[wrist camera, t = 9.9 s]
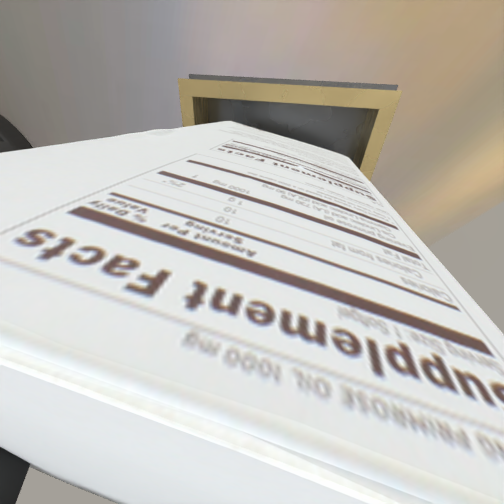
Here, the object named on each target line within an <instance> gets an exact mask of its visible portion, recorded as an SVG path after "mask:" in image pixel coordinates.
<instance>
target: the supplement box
mask: <svg viewBox="0 0 504 504" xmlns="http://www.w3.org/2000/svg"><path fill="white" fill-rule="evenodd" d="M0 447H2V448H3V449H5V450H7V451H9V452H10V453H12V454H14V455H16V456H18V457H19V458H21V459H23V460H25V461H27V462H28V463H30V466H29V467H31V468H33V469H36V470H38V471H40V472H42V473H45V474H47V475H49V476H52V477H54V478H56V479H59V480H61V481H63V482H66V483H68V484H70V485H73V486H75V487H78V488H80V489H83V490H85V491H88V492H91V493H93V494H95V495H98V496H100V497H103V498H105V499H108V500H110V501H113V502H115V503H118V504H504V334H503V333H502V332H501V331H500V330H499V329H498V327H497V326H496V325H495V324H494V323H493V322H492V321H491V319H490V318H489V317H488V316H487V315H486V314H485V313H484V312H483V310H482V309H481V308H480V307H479V306H478V305H477V303H476V302H475V301H474V300H473V299H472V298H471V297H470V295H469V294H468V293H467V292H466V291H465V290H464V289H463V288H462V286H461V285H460V284H459V283H458V282H457V281H456V280H455V278H454V277H453V276H452V275H451V274H450V273H449V272H448V270H447V269H446V268H445V267H444V266H443V265H442V264H441V262H440V261H439V260H438V259H437V258H436V257H435V256H434V255H433V253H432V252H431V251H430V250H429V249H428V248H427V247H426V245H425V244H424V243H423V242H422V241H421V240H420V239H419V238H418V236H417V235H416V234H415V233H414V232H413V231H412V230H411V228H410V227H409V226H408V225H407V224H406V222H405V221H404V220H403V219H402V218H401V217H400V215H399V214H398V213H397V212H396V211H395V210H394V209H393V207H392V206H391V205H390V204H389V203H388V202H387V201H386V199H385V198H384V197H383V196H382V195H381V194H380V193H379V192H378V190H377V189H376V188H375V187H374V186H373V185H372V183H371V182H370V181H369V180H368V179H367V178H366V177H365V176H364V175H363V173H362V172H361V171H360V170H359V169H358V168H357V167H356V165H355V164H354V163H353V162H352V161H351V160H350V158H349V157H347V156H344V155H342V154H339V153H336V152H333V151H330V150H327V149H323V148H320V147H317V146H314V145H310V144H307V143H304V142H300V141H297V140H294V139H290V138H287V137H283V136H280V135H276V134H273V133H270V132H266V131H263V130H259V129H256V128H253V127H249V126H246V125H243V124H239V123H236V122H233V121H223V122H216V123H208V124H201V125H194V126H187V127H181V128H176V129H155V130H150V131H146V132H139V133H130V134H124V135H119V136H114V137H107V138H100V139H93V140H86V141H79V142H72V143H66V144H59V145H52V146H45V147H38V148H31V149H24V150H17V151H10V152H3V153H0Z"/></svg>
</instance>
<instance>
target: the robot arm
mask: <svg viewBox="0 0 504 504" xmlns="http://www.w3.org/2000/svg"><path fill="white" fill-rule="evenodd" d="M31 148H32V147H31V146H30V144H29V143H28V142H27V140H26V139H25V138H24V137H23V136H22V134H21V133H20V132H19V131H18V130H17V129H16V128H15V127H14V126H13V125H12V124H11V123H10V122H9V121H7V120H6V119H5V118H4V117H3V116H1V115H0V153H3V152H10V151H17V150H24V149H31ZM29 466H30V463H28V462H27V461H25V460H23V459H21V458H19V457H18V456H16V455H14V454H12V453H10V452H9V451H7V450H5V449H3V448H2V447H0V504H15V503H16V501H17V498H18V495H19V493H20V490H21V487H22V485H23V482H24V479H25V476H26V474H27V471H28V468H29Z"/></svg>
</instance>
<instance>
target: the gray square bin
mask: <svg viewBox="0 0 504 504" xmlns="http://www.w3.org/2000/svg"><path fill="white" fill-rule="evenodd" d="M178 85H179V94H180V104H181V113H182V122H183V127H187V126H194V125H201V124H208V123H216V122H223V121H233V122H236V123H239V124H243V125H246V126H249V127H253V128H256V129H259V130H263V131H266V132H270V133H273V134H276V135H280V136H283V137H287V138H290V139H294V140H297V141H300V142H304V143H307V144H310V145H314V146H317V147H320V148H323V149H327V150H330V151H333V152H336V153H339V154H342V155H344V156H347V157H349V158H350V160H351V161H352V162H353V163H354V164H355V165H356V167H357V168H358V169H359V170H360V171H361V172H362V173H363V175H364V176H365V177H366V178H367V179H368V180H369V181H370V180H371V177H372V174H373V171H374V169H375V166H376V163H377V160H378V158H379V155H380V152H381V149H382V146H383V144H384V141H385V138H386V135H387V133H388V130H389V127H390V124H391V122H392V119H393V116H394V113H395V110H396V108H397V105H398V102H399V99H400V97H401V94H402V91H396V90H397V87H398V85H387V84H368V83H349V82H330V81H311V80H291V79H272V78H253V77H234V76H215V75H196V74H189V79H179V78H178Z"/></svg>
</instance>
